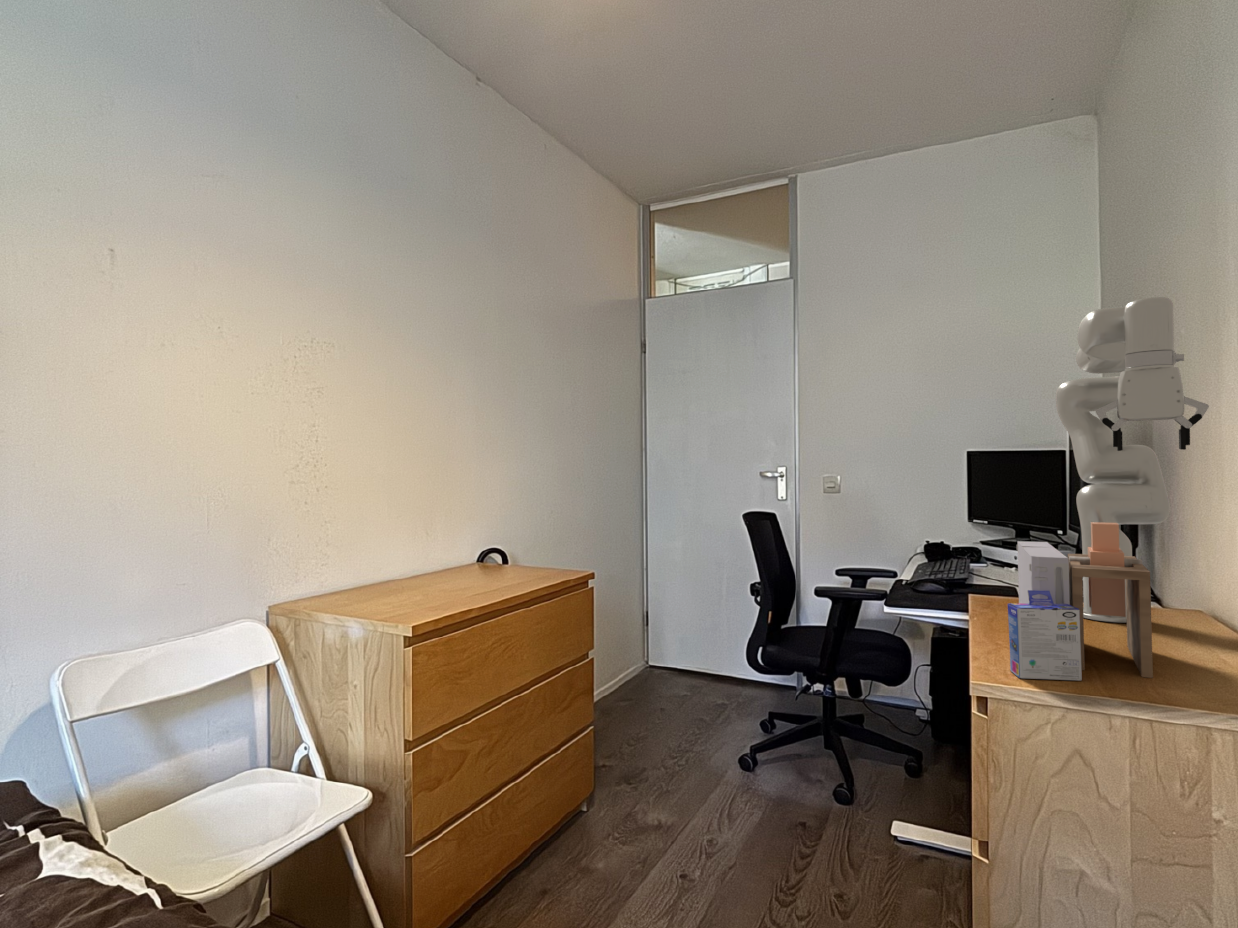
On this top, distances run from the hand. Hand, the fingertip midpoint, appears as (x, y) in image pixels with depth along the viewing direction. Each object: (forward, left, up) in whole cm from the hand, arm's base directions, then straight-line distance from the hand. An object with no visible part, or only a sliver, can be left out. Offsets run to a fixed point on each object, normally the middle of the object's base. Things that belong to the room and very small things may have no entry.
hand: (1150, 450), depth 131 cm
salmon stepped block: (+11, -8, -30) cm, 33 cm away
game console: (+10, -19, -39) cm, 45 cm away
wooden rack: (+11, -8, -39) cm, 41 cm away
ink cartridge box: (+29, -18, -39) cm, 52 cm away
